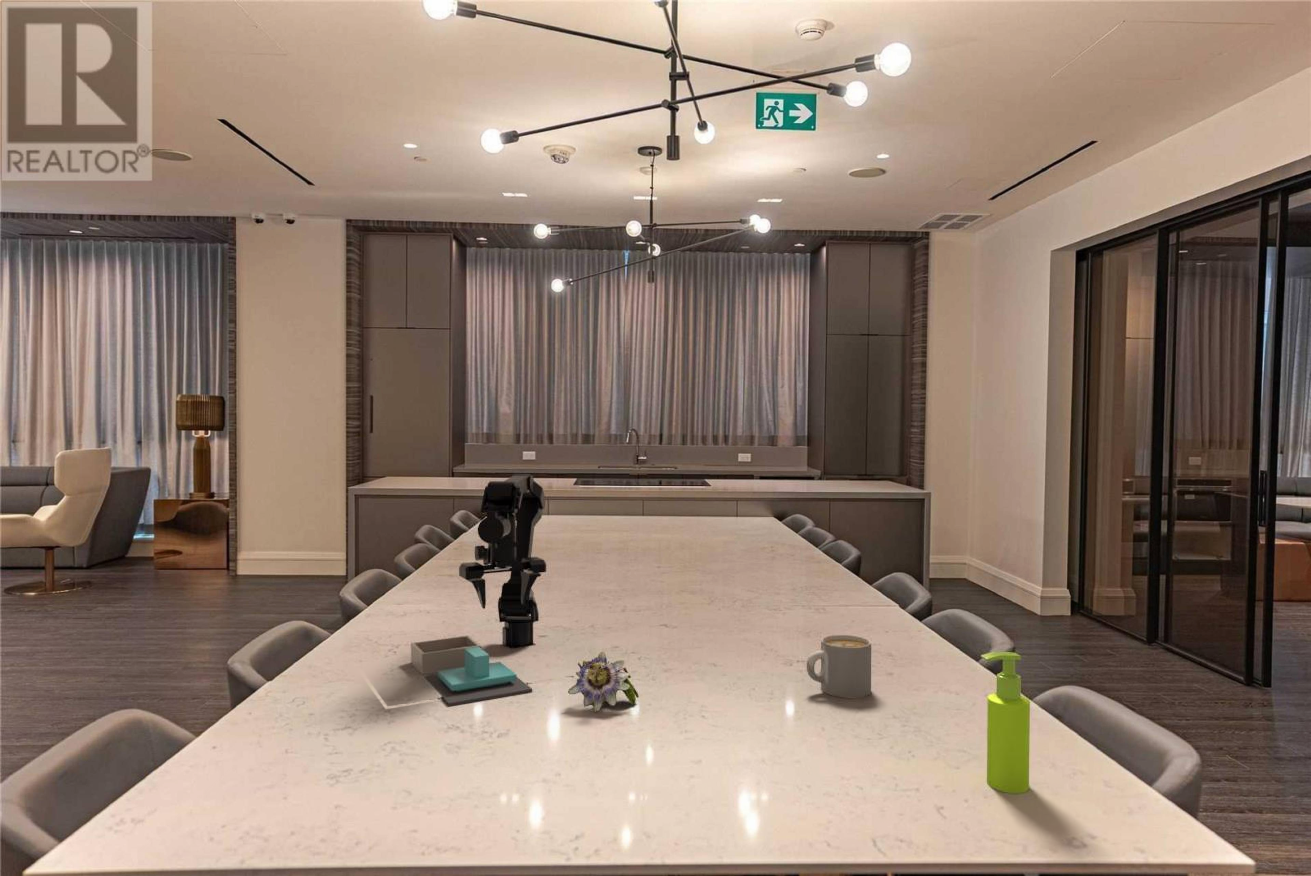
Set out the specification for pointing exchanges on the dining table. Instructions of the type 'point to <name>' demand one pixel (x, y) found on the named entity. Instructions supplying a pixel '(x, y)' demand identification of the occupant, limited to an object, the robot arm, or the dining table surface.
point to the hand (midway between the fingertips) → (503, 606)
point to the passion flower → (603, 682)
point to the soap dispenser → (1008, 729)
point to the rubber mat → (477, 691)
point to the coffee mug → (843, 666)
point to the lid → (476, 672)
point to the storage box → (440, 654)
